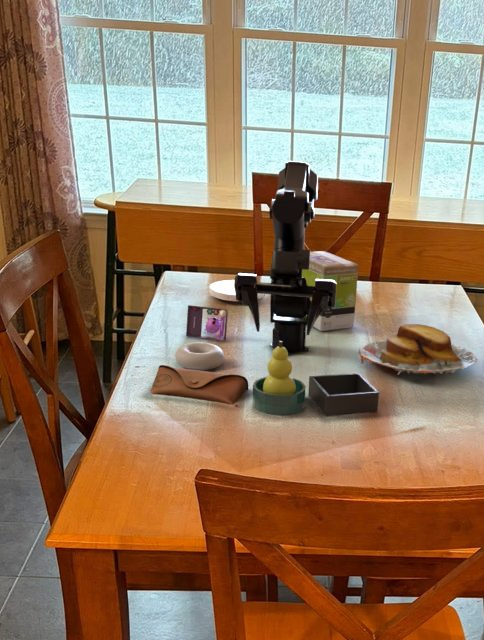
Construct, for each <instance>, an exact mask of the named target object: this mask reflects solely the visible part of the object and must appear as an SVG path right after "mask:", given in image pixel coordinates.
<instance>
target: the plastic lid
mask: <svg viewBox="0 0 484 640" xmlns="http://www.w3.org/2000/svg"><path fill="white" fill-rule="evenodd" d="M234 281H235V279H226V280H219V281H214V282H212V283H211V284H209V295H210V296H211V297H213V298H215V299H219V300H223V301H230V302H239V301H238V300H236V294H235V288H234ZM265 295H266V294H260V293H258V300H260V299H263V298H264V297H265Z"/></svg>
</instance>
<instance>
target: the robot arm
mask: <svg viewBox="0 0 484 640" xmlns="http://www.w3.org/2000/svg"><path fill="white" fill-rule="evenodd" d="M284 165H285V166H284V168H282V169H281V170H280V171H279V172H278V183H277V191H276V193H275V196H274V199H273V198H272V199H271V202H270V206H269V219H270V220H272V228H273V229H272V231H273V234H274V238H273V239H274V240H273V251H272V252H271V253H272V254H271V263H270V268H269V279H270V282H260V281H258V276H257V274H254V273H242V272H238V273H236V275H235V276H234V280H235V281H234V288H235V294H236V300H238V301H237V302H240V303H241V302H242V305H243V306H247V307H248V309H249V311H250V313H251V315H252V318H253V322H254V326H255V329H256V332H257V333H259V332H260V328H261V325H260V324H261V321H260V306H259V305H260V304H259V299H258V293H260V294H265V295H270V301H269V305H270V306H269V309H270V310H269V312H270V314H269V315H270V317H269V318H270V320H269V321H270V323H271V324H273V323H274V324H273V325H274V327H272V338H271V339H272V341H271V343H269V347H271V348H272V349H273V350H274V349H275V348H276V347H279V341H282V347H284V348H285V349H286V350H287V352H288V355H293V354H299V353H304V352H305V353H306V352H309V351H310V348H309V347H307V346H306V339H307V337H306V336H309V335H310V334H311V331H312V329H313V328H314V327H313V325H314V323H315V321H316V320H317V318H318V317H319V315H320V314H321V312H322V311H327V310H328V308H333V307H335V296H336V283H335V281H334V280H326V279H315V286H308V285H307V282H306V279H305V278H304V277H303V276H302V270H303V269H305V270H309V265H310V252H311V249H305V238H306V235H305V234H306V233H305V232H306V229H307V228H308V223H311V222H312V221H313V220H314V219H315V208H314V205H315V204H314V203H315V201H317V200H318V190H319V182H318V181H319V177H318V174H317V173H316V172H315V171H313V170H312V169H311V168H310V163H307V162H306V161H295V160H288V161H286V162H285V164H284ZM310 297H312V302H311V300H310ZM306 315H307V316H306Z"/></svg>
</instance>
